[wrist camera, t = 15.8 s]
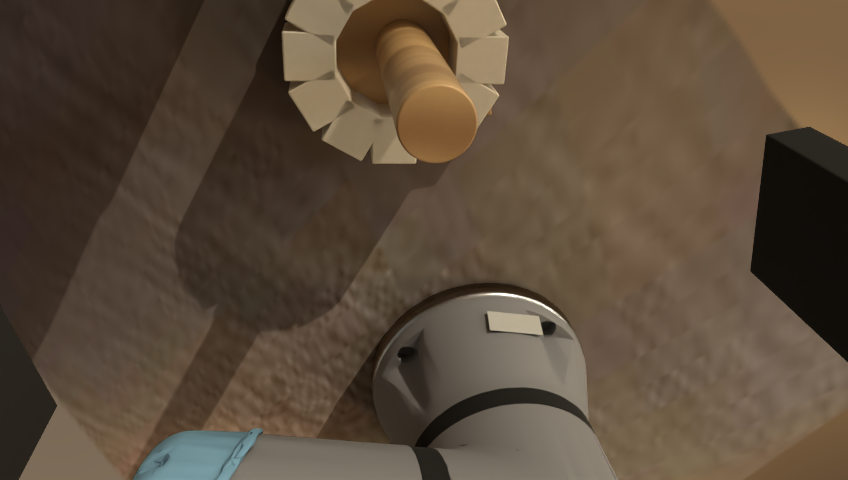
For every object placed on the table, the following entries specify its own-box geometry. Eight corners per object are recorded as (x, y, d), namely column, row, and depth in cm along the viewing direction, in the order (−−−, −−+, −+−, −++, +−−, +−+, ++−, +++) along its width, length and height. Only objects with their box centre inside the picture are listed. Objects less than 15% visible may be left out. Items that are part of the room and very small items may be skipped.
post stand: (486, 107, 39) (562, 214, 26) (335, 132, 39) (338, 253, 26) (472, -58, 35) (554, -26, 22) (301, -32, 34) (285, 16, 22)
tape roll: (486, 147, 39) (495, 164, 36) (290, 147, 37) (288, 164, 35) (506, -63, 33) (519, -60, 31) (279, -73, 32) (275, -70, 30)
